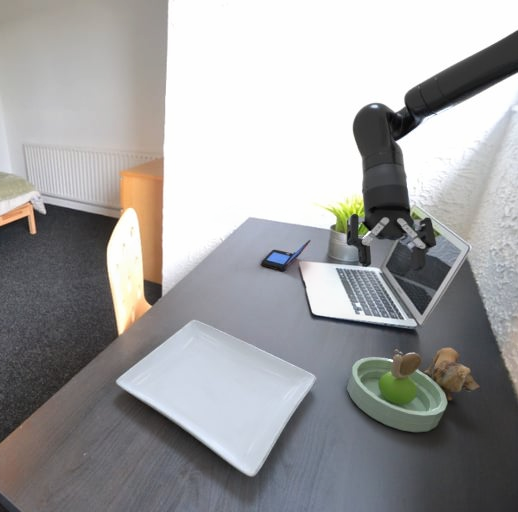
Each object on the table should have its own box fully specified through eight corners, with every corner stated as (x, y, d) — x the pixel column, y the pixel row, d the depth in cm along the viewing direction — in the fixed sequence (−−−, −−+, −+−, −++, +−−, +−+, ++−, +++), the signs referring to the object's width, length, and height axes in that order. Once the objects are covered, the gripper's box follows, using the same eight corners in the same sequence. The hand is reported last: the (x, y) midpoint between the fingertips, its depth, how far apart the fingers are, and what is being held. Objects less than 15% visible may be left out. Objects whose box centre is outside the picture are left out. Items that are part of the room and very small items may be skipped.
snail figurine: (363, 393, 68) (382, 341, 63) (389, 384, 70) (410, 333, 64) (391, 415, 63) (414, 362, 58) (418, 406, 65) (443, 353, 60)
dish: (414, 380, 71) (422, 362, 69) (455, 441, 59) (466, 421, 57) (337, 370, 74) (342, 352, 72) (361, 426, 62) (368, 407, 60)
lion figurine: (465, 419, 63) (487, 380, 59) (426, 407, 65) (445, 369, 61) (447, 366, 74) (464, 330, 70) (414, 357, 77) (429, 322, 73)
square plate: (250, 495, 53) (254, 477, 51) (113, 395, 70) (112, 379, 68) (314, 388, 70) (319, 373, 68) (192, 329, 87) (193, 316, 85)
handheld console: (272, 251, 124) (276, 231, 121) (306, 260, 118) (311, 239, 115) (259, 265, 116) (262, 244, 112) (295, 275, 109) (300, 252, 106)
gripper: (353, 181, 73) (358, 258, 68) (437, 183, 69) (449, 264, 64) (339, 199, 79) (342, 270, 74) (414, 202, 76) (423, 276, 71)
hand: (392, 267), depth 69 cm, fingers open, 8 cm apart
